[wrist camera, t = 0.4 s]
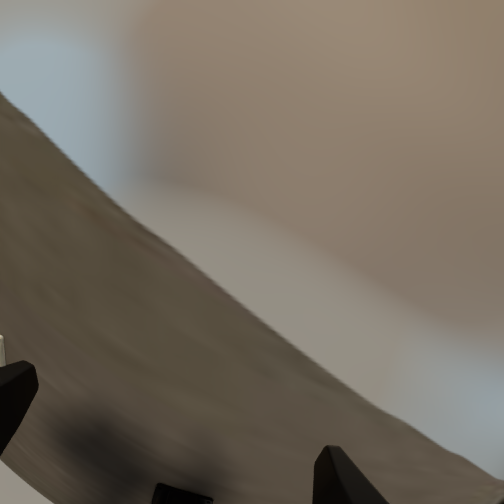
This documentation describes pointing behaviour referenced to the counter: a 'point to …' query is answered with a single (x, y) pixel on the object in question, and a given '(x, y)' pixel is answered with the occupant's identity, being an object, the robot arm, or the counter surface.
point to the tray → (2, 352)
